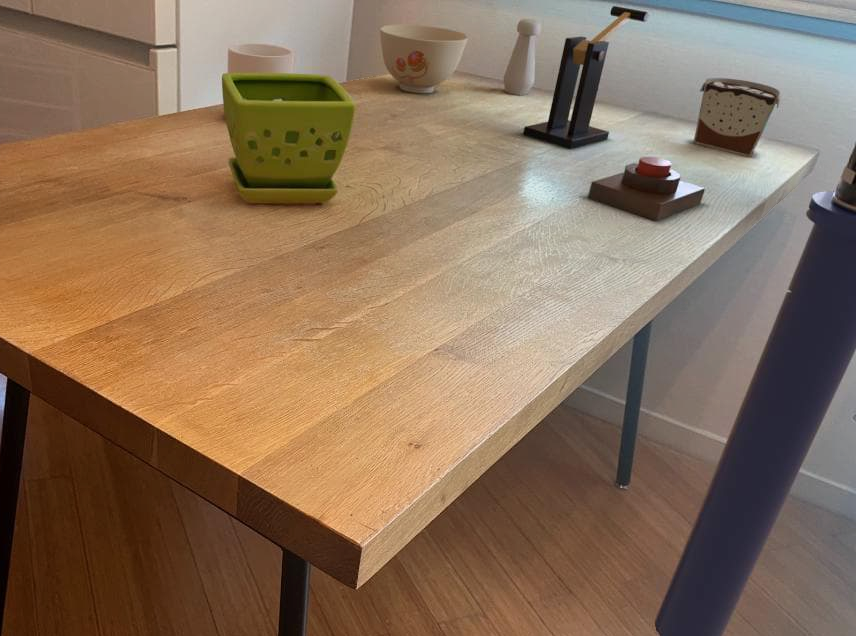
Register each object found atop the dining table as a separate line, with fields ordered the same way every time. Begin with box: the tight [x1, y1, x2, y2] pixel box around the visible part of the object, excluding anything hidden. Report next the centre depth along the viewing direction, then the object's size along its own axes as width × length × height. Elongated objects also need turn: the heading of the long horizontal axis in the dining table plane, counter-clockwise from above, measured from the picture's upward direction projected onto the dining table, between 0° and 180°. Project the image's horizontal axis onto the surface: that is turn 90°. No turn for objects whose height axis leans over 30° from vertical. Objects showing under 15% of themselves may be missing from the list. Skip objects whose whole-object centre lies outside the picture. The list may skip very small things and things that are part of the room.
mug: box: [227, 42, 297, 101], centre depth 134 cm, size 13×10×10 cm
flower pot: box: [221, 72, 356, 206], centre depth 104 cm, size 14×14×13 cm
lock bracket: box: [522, 35, 610, 150], centre depth 137 cm, size 11×9×15 cm
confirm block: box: [587, 163, 706, 222], centre depth 114 cm, size 12×10×4 cm
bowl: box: [379, 24, 469, 94], centre depth 159 cm, size 16×16×10 cm
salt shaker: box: [503, 18, 542, 96], centre depth 163 cm, size 6×6×13 cm
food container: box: [693, 77, 782, 158], centre depth 140 cm, size 12×6×10 cm, turn 48°
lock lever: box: [573, 5, 650, 66], centre depth 135 cm, size 14×6×2 cm, turn 133°
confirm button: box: [637, 156, 673, 177], centre depth 113 cm, size 4×4×2 cm
